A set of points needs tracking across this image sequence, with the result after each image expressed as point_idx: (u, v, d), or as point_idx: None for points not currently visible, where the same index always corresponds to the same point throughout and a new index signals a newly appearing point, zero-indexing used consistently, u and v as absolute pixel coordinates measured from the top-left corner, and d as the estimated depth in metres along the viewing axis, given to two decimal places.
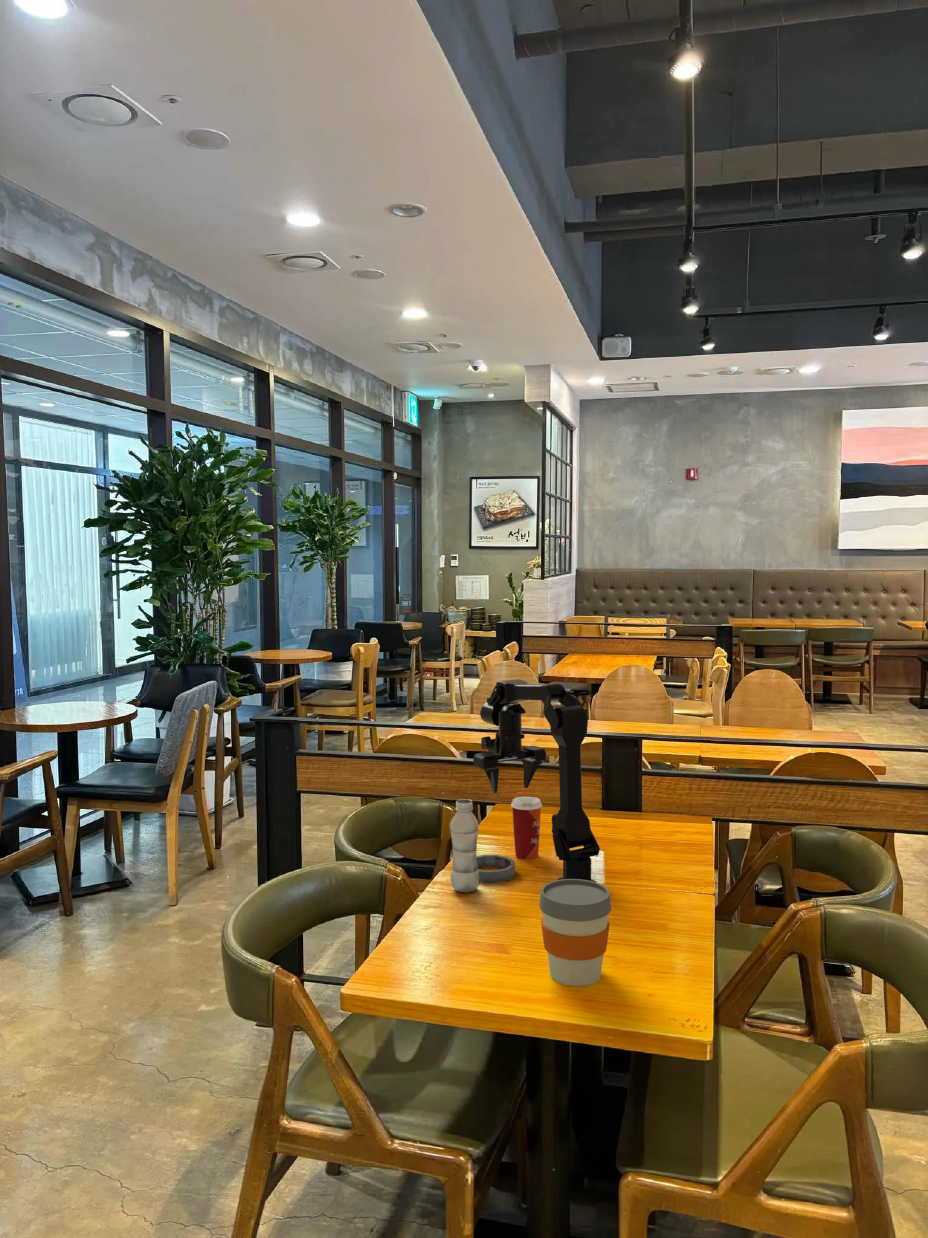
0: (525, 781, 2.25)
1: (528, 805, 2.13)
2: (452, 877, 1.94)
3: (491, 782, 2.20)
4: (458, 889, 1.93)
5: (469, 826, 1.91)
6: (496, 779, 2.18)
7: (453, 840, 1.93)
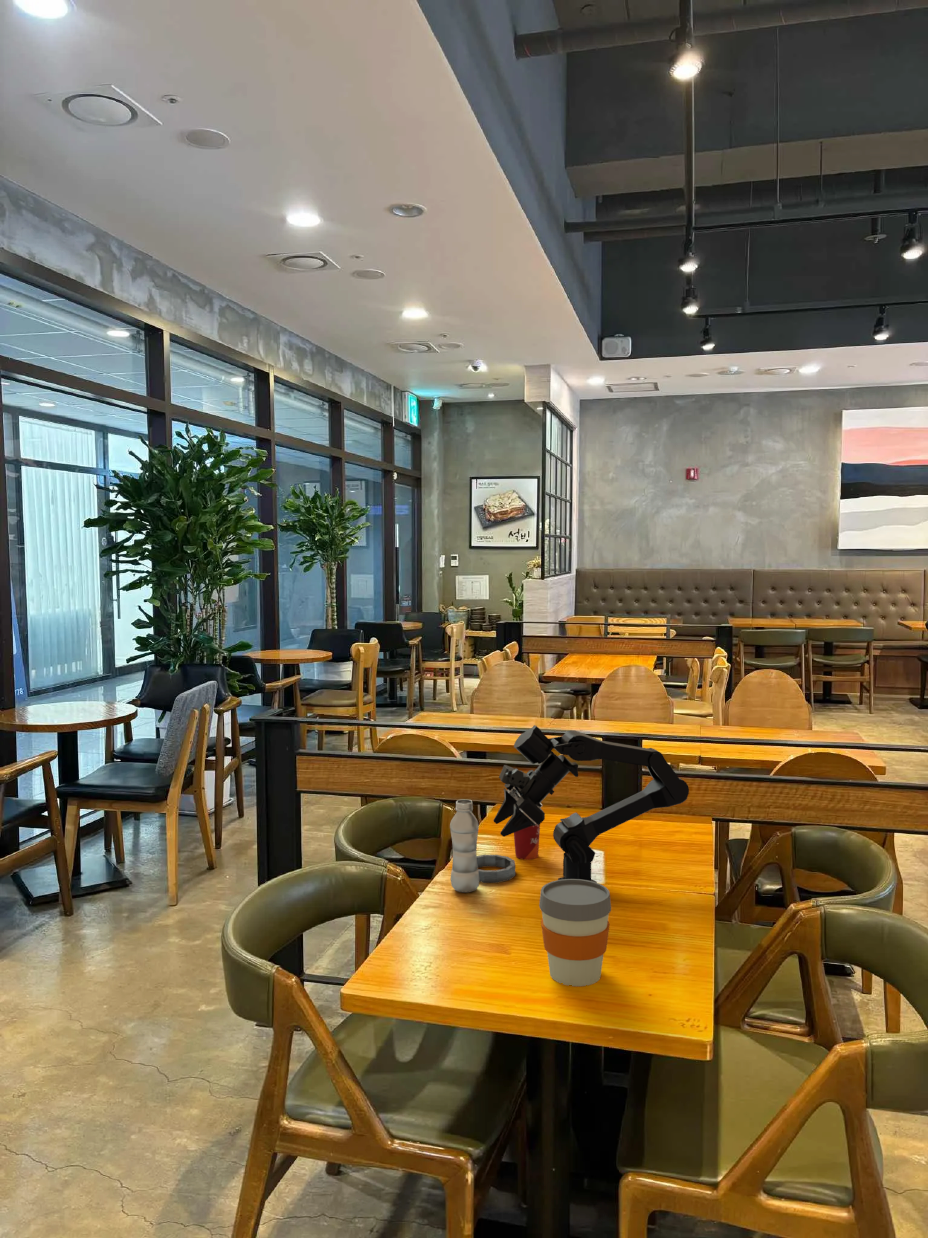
0: (500, 816, 2.00)
1: None
2: (452, 877, 1.94)
3: (511, 827, 1.90)
4: (458, 889, 1.93)
5: (469, 826, 1.91)
6: None
7: (453, 840, 1.93)
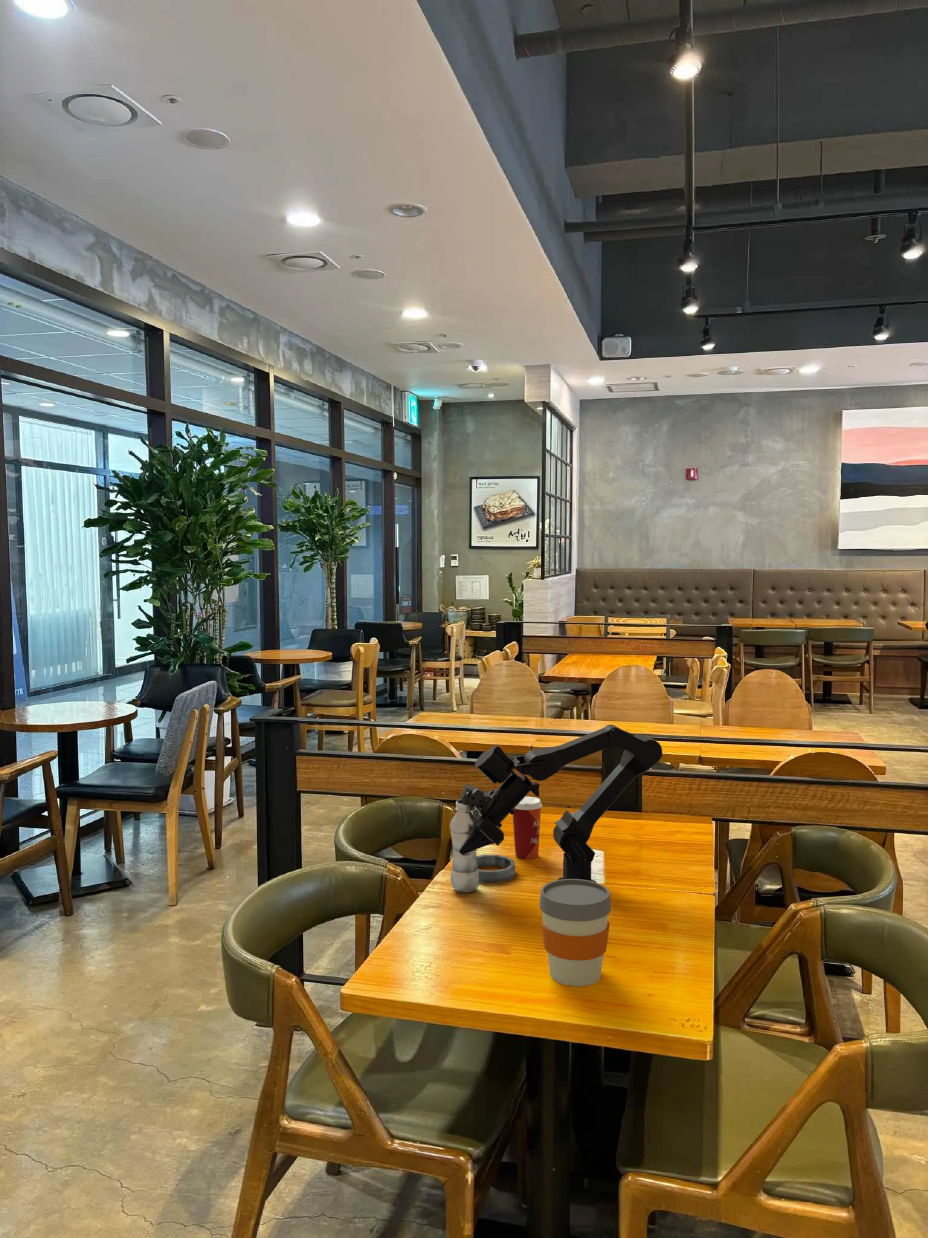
0: None
1: (528, 805, 2.13)
2: (452, 877, 1.94)
3: (470, 845, 1.90)
4: (458, 889, 1.93)
5: (469, 826, 1.91)
6: None
7: (453, 840, 1.93)
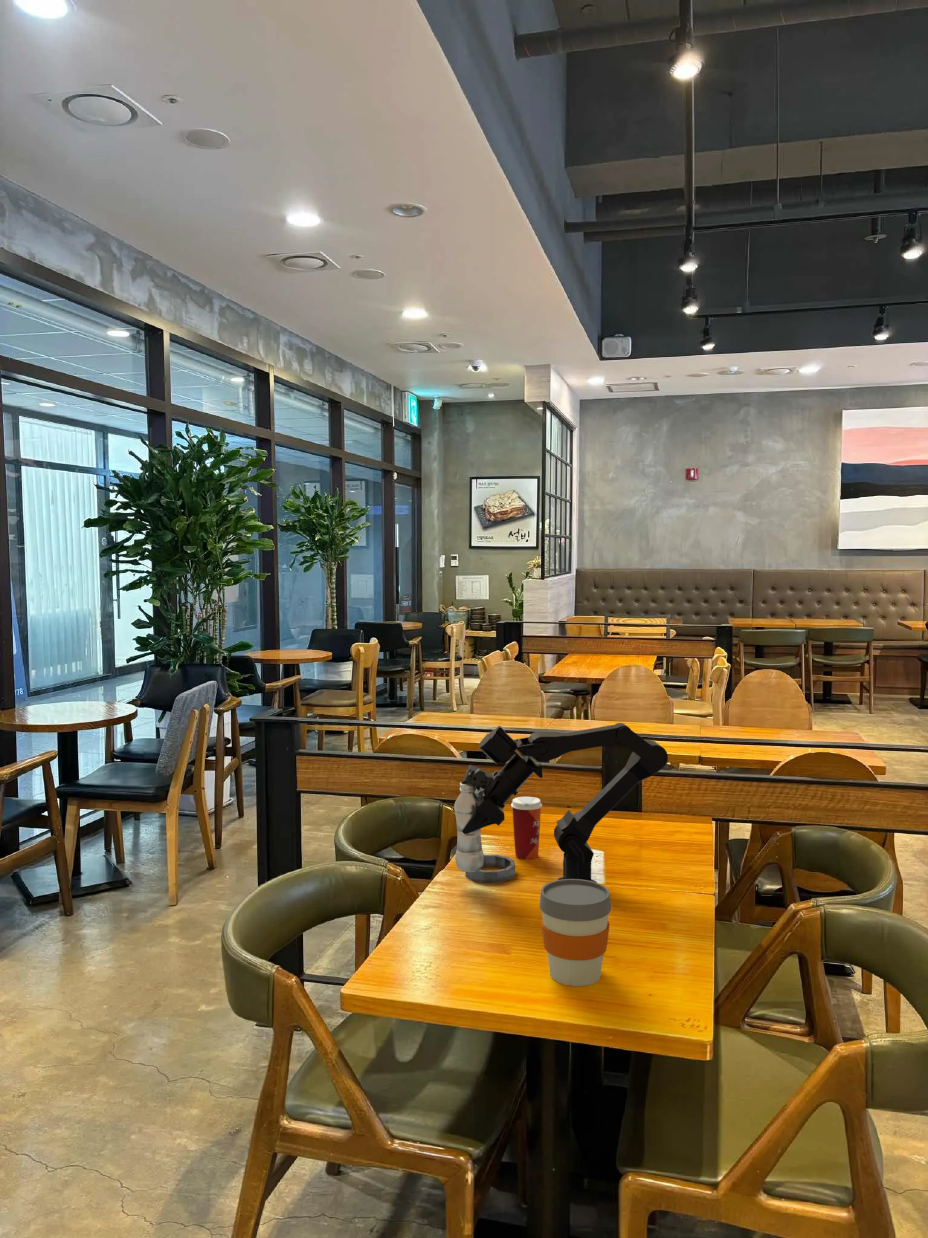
0: None
1: (528, 805, 2.13)
2: (456, 857, 1.96)
3: (472, 825, 1.92)
4: (462, 869, 1.95)
5: (472, 807, 1.93)
6: None
7: (457, 820, 1.95)
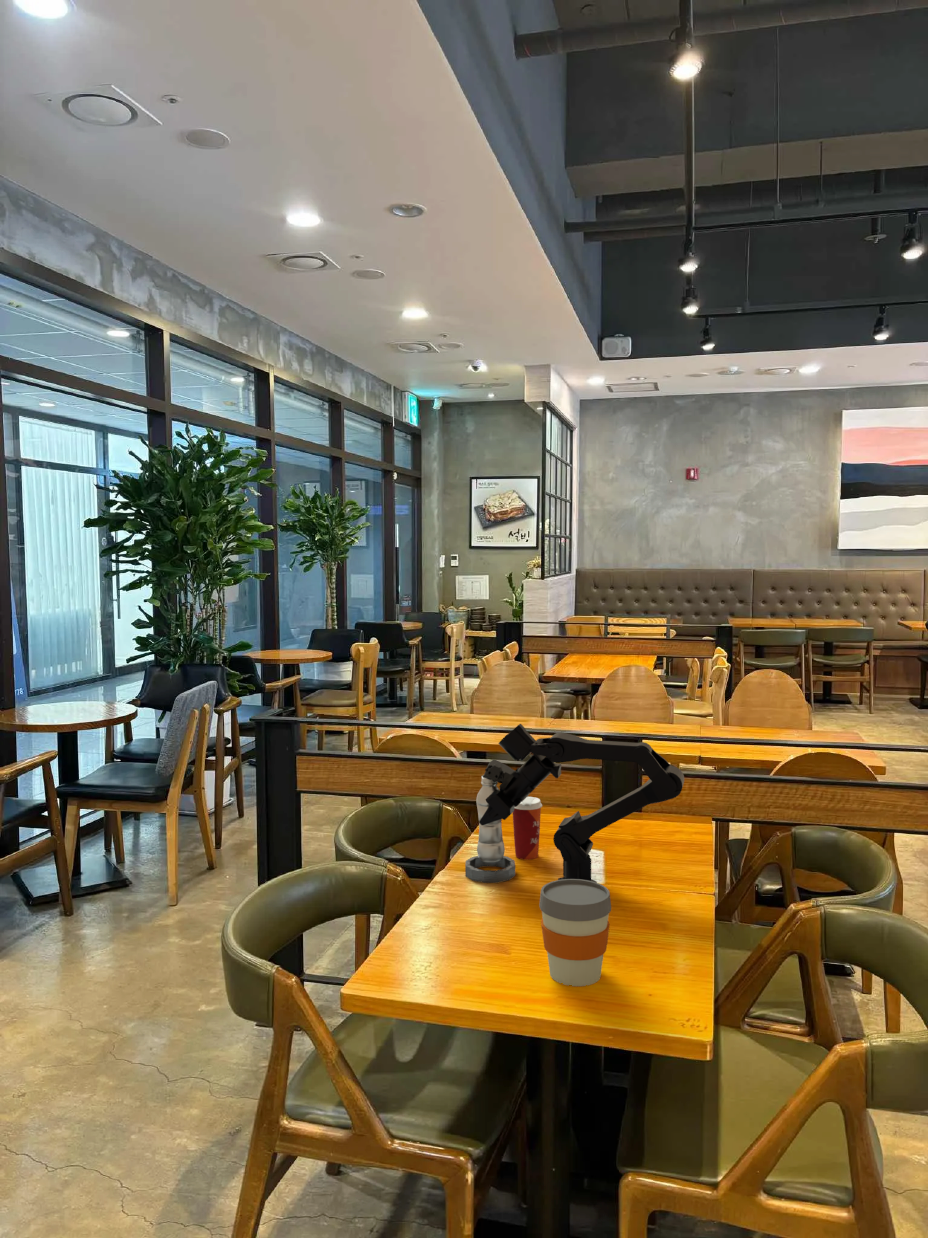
0: None
1: (528, 805, 2.13)
2: (477, 846, 2.05)
3: (487, 817, 2.00)
4: (480, 858, 2.03)
5: None
6: (497, 819, 2.00)
7: (478, 811, 2.04)
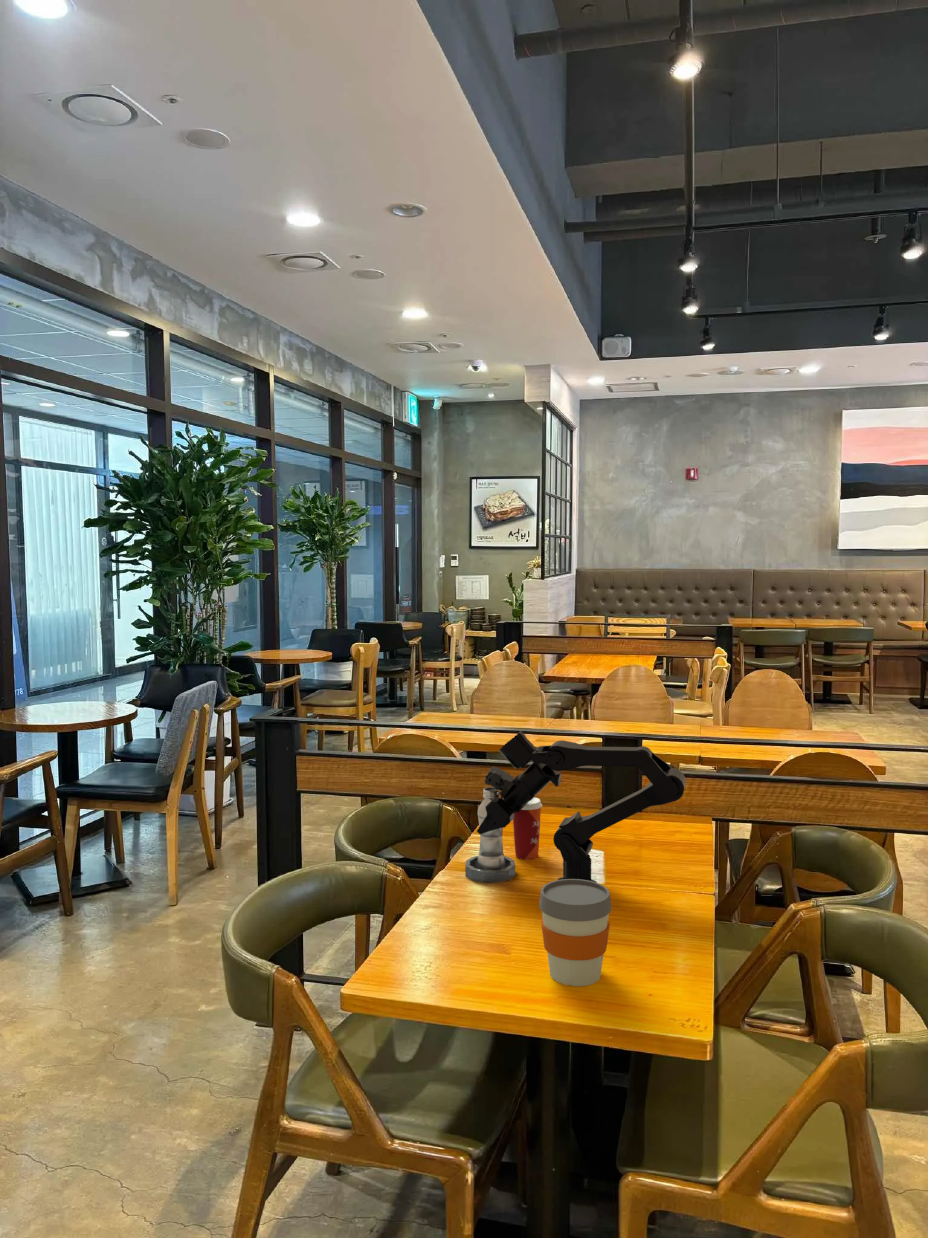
0: None
1: (528, 805, 2.13)
2: None
3: (485, 826, 1.99)
4: None
5: None
6: (495, 828, 1.99)
7: (479, 824, 2.04)
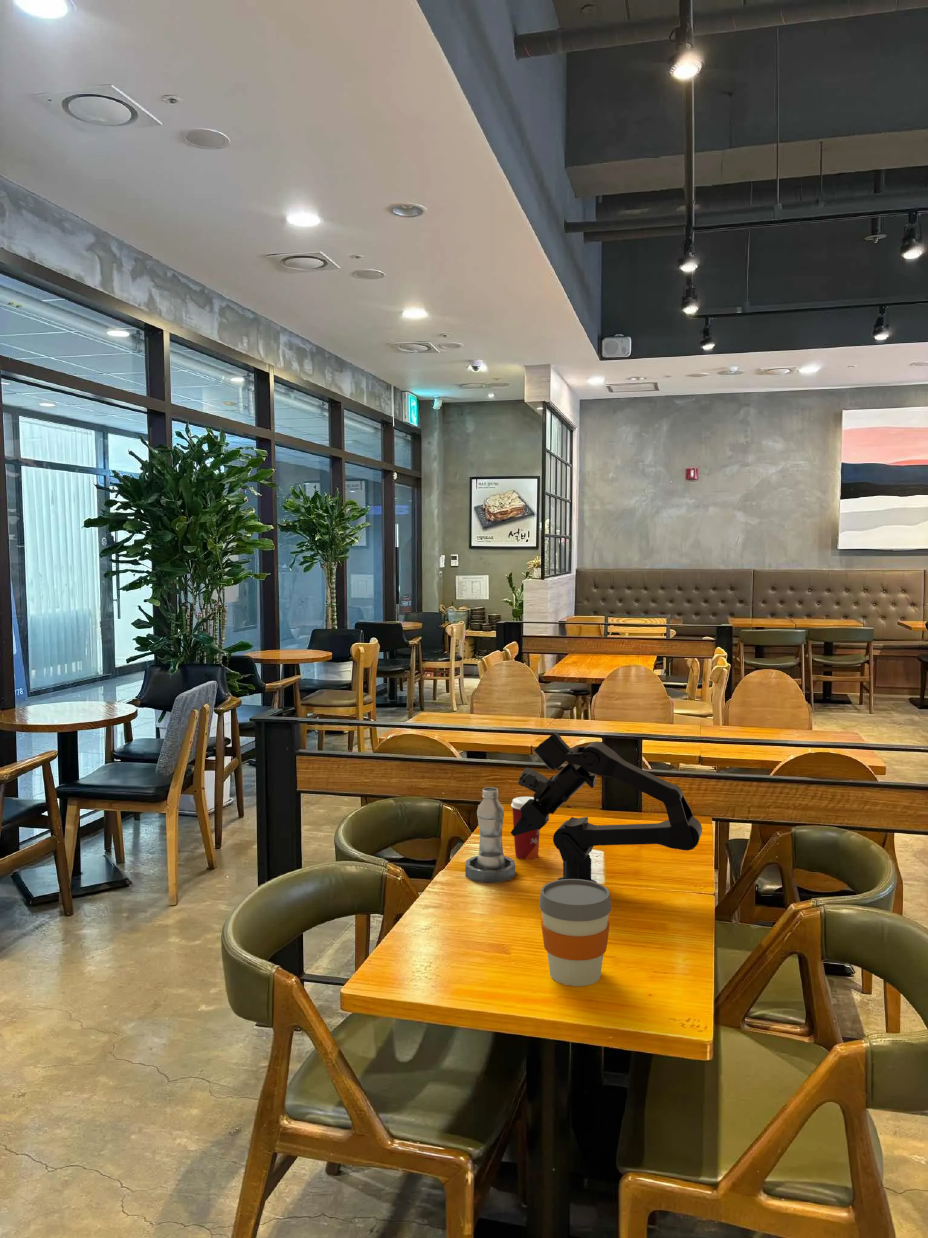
0: None
1: None
2: None
3: (519, 828, 1.96)
4: None
5: (490, 813, 2.01)
6: None
7: None
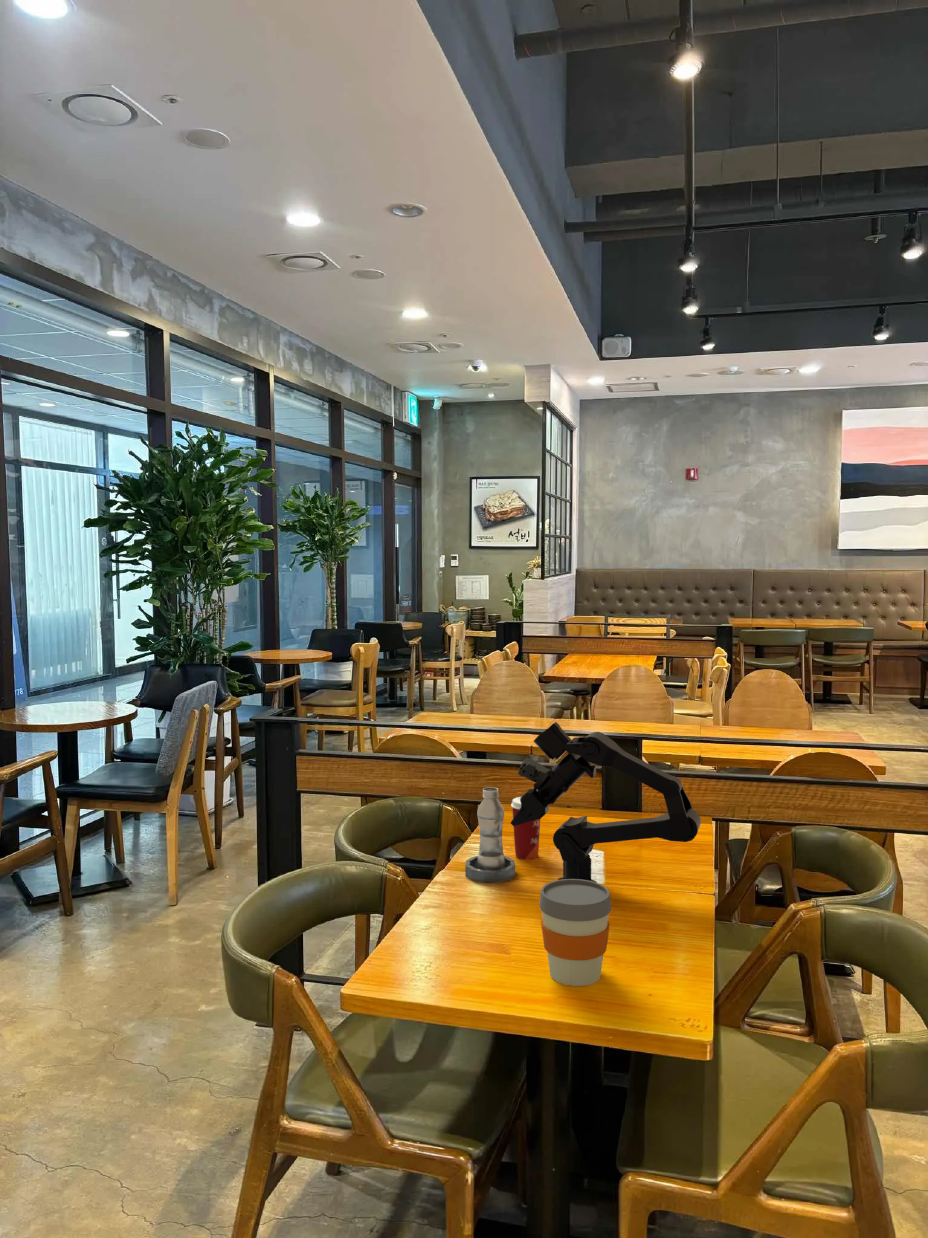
0: None
1: None
2: None
3: (519, 818, 1.96)
4: None
5: (490, 813, 2.01)
6: None
7: (479, 824, 2.04)
